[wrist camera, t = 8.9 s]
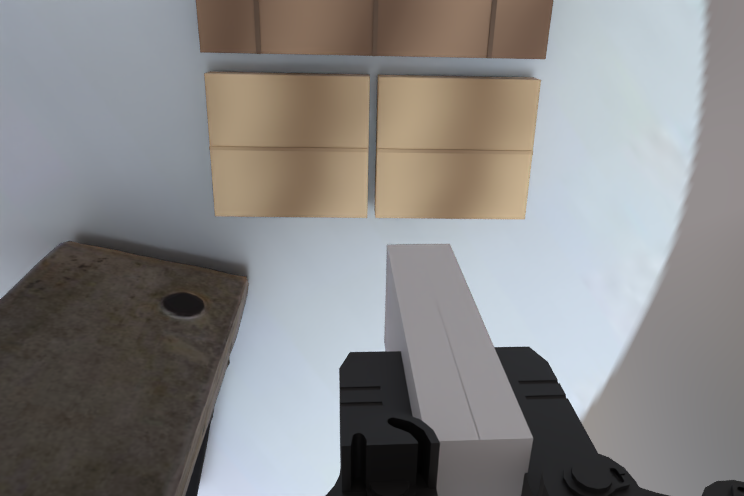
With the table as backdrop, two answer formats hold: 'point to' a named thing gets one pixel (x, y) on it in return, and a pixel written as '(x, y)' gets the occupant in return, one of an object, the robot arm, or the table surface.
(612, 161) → the table surface
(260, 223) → the table surface
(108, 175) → the table surface
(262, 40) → the walnut row
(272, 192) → the oak plank
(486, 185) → the oak plank
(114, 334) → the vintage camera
